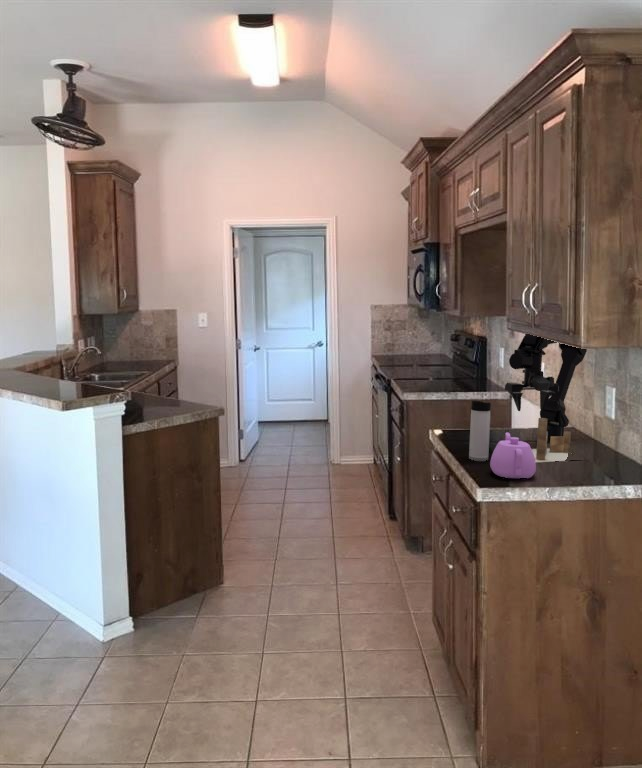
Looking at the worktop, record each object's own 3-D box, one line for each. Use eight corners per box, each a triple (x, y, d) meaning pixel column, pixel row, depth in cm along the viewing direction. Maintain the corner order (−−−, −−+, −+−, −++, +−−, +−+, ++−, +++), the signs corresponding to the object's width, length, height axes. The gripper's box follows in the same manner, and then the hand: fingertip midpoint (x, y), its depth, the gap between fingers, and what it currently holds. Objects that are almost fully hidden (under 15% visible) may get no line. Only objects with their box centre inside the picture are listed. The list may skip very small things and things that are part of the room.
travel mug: (464, 459, 239) (467, 399, 236) (475, 456, 244) (477, 397, 241) (481, 462, 235) (484, 402, 232) (491, 459, 239) (494, 400, 237)
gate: (540, 451, 250) (542, 413, 248) (548, 452, 249) (551, 414, 247) (535, 458, 239) (538, 418, 237) (544, 459, 238) (546, 419, 236)
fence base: (566, 451, 253) (567, 430, 252) (570, 453, 250) (572, 432, 250) (543, 452, 251) (544, 431, 250) (547, 454, 248) (549, 433, 247)
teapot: (542, 484, 210) (544, 444, 208) (495, 482, 210) (498, 443, 209) (525, 467, 230) (527, 431, 228) (483, 466, 230) (485, 429, 229)
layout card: (556, 448, 258) (556, 447, 258) (586, 460, 241) (586, 459, 241) (503, 450, 253) (503, 450, 253) (530, 462, 236) (530, 462, 236)
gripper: (521, 370, 248) (518, 415, 250) (569, 370, 252) (566, 414, 254) (505, 367, 258) (502, 409, 260) (551, 366, 263) (548, 408, 265)
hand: (530, 410), depth 260 cm, fingers open, 9 cm apart
